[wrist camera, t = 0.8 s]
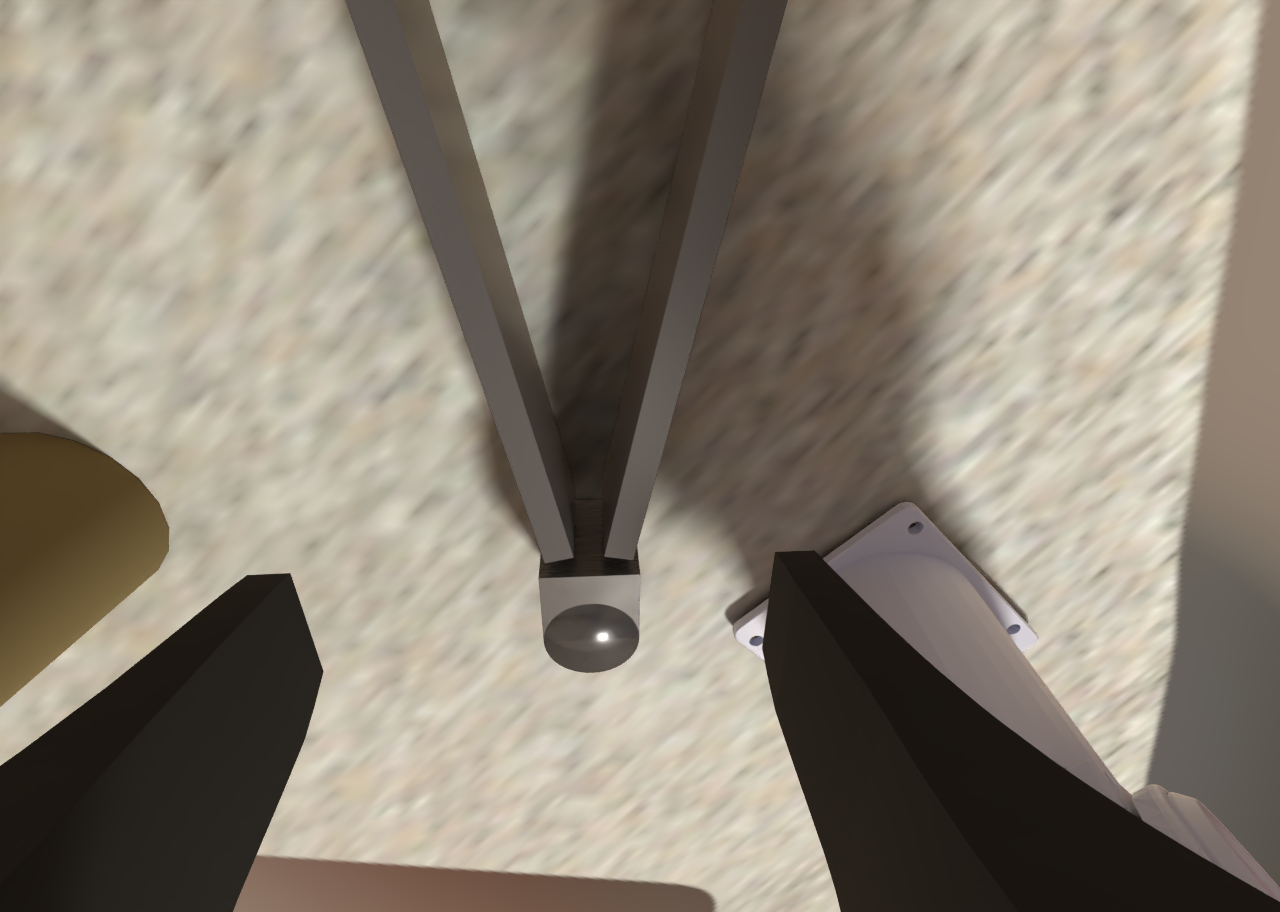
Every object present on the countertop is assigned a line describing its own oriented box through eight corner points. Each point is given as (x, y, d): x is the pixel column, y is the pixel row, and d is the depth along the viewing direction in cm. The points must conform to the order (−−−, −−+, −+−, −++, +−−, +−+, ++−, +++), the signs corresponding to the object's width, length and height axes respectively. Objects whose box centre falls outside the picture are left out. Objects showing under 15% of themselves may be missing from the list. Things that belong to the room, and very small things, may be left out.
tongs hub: (631, 587, 24) (638, 670, 21) (551, 590, 24) (546, 674, 20) (632, 498, 22) (640, 574, 19) (545, 500, 22) (538, 578, 18)
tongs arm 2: (581, 484, 21) (580, 558, 18) (544, 491, 21) (537, 567, 18) (364, -255, 13) (290, -361, 9) (302, -239, 13) (208, -340, 9)
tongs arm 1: (631, 489, 22) (640, 563, 18) (595, 483, 21) (597, 557, 18) (814, -217, 13) (885, -304, 10) (757, -237, 13) (812, -333, 10)
